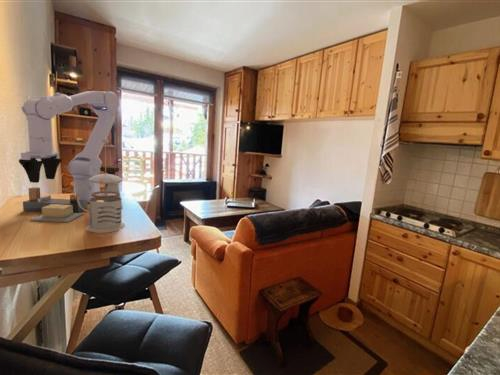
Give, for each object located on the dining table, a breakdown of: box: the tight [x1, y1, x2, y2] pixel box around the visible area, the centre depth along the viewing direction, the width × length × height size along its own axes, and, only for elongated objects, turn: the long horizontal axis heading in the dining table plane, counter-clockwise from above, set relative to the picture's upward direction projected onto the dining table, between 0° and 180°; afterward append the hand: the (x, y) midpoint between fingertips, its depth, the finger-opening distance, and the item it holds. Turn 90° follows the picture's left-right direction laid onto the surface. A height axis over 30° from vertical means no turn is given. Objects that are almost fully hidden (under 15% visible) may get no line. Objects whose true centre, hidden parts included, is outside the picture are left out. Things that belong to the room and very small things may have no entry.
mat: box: [30, 212, 84, 223], centre depth 75 cm, size 8×10×1 cm
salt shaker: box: [102, 175, 123, 218], centre depth 81 cm, size 6×6×13 cm
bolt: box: [100, 165, 120, 189], centre depth 88 cm, size 6×5×15 cm
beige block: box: [41, 204, 73, 219], centre depth 75 cm, size 4×6×3 cm
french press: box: [77, 138, 126, 234], centre depth 69 cm, size 10×12×25 cm
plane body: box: [22, 186, 89, 213], centre depth 82 cm, size 6×16×7 cm, turn 97°
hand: (42, 180), depth 81 cm, fingers open, 7 cm apart
